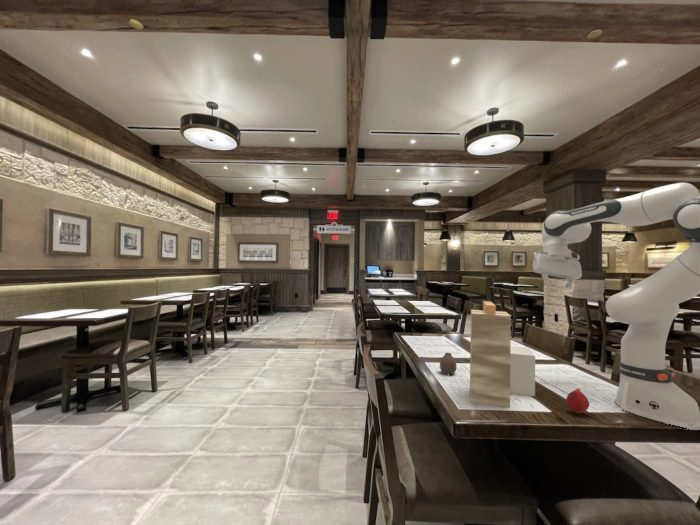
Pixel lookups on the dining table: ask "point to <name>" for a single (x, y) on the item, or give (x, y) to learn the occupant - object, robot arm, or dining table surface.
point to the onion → (577, 401)
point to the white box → (522, 371)
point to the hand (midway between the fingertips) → (558, 286)
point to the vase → (448, 364)
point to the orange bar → (489, 307)
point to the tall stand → (490, 358)
